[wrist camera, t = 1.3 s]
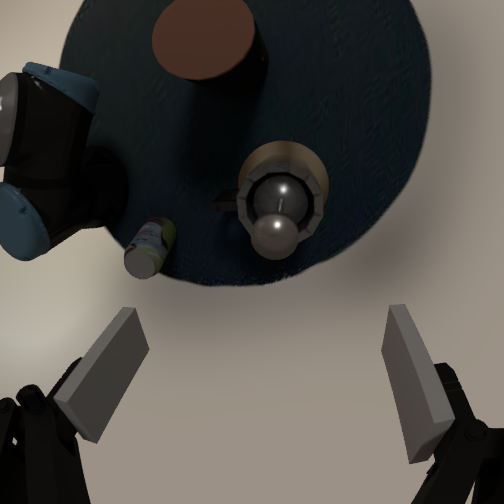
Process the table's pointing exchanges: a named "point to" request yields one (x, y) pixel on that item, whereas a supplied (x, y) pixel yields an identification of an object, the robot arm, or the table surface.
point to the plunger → (278, 216)
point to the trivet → (287, 148)
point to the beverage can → (150, 247)
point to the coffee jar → (211, 44)
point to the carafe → (268, 167)
